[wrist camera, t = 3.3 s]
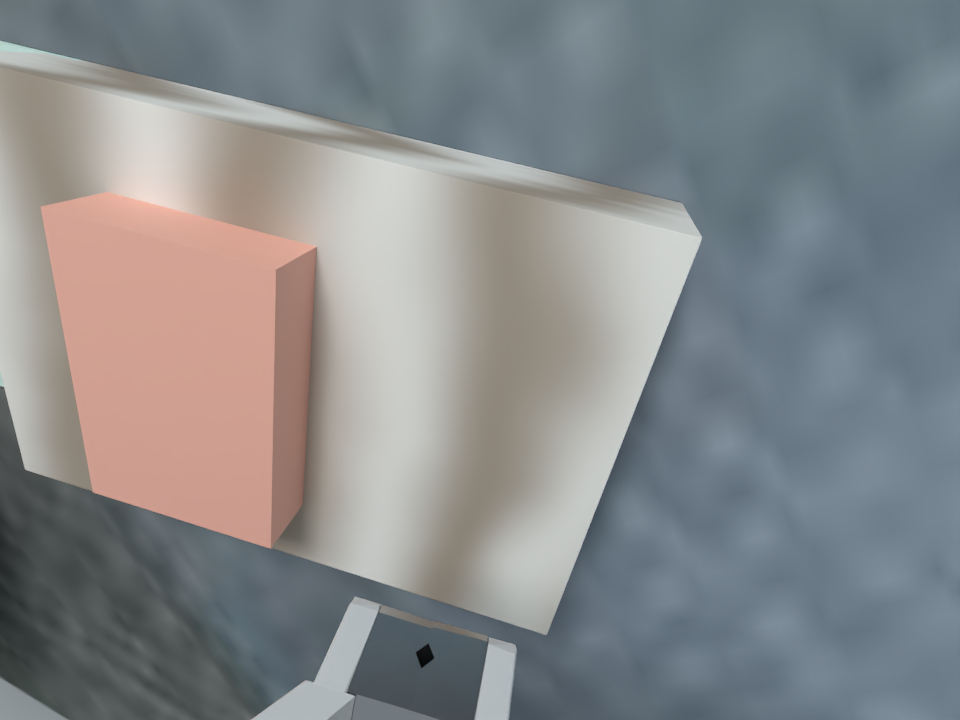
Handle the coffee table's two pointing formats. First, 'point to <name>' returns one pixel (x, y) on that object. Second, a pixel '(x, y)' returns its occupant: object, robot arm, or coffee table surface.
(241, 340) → the salmon pink eraser
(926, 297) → the coffee table surface
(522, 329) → the striped beige block
